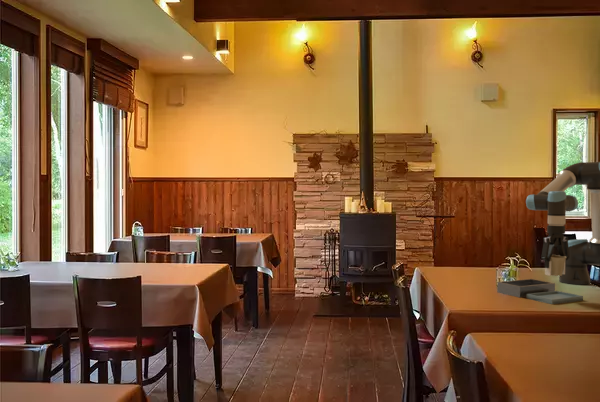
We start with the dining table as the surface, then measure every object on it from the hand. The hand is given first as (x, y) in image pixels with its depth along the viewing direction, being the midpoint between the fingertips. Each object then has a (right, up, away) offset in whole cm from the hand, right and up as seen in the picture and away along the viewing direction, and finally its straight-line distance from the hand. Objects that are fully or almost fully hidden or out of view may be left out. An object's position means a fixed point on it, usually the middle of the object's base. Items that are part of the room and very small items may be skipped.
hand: (555, 274), depth 260 cm
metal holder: (-7, -11, +15) cm, 20 cm away
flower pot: (0, 0, 0) cm, 1 cm away
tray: (0, -11, 0) cm, 11 cm away
